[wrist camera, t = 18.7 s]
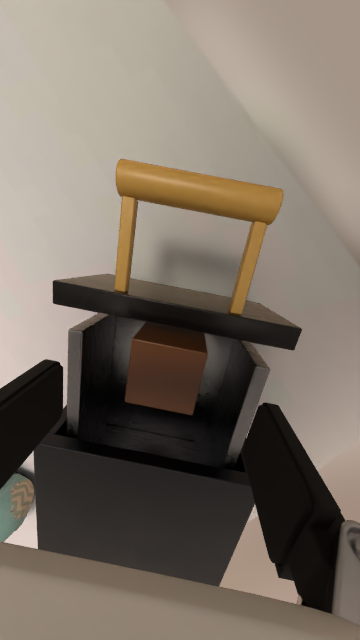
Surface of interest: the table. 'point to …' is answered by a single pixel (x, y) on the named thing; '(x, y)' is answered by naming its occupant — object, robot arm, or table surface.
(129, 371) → the block
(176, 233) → the table surface
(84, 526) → the cabinet
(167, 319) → the drawer
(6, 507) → the stuffed animal
